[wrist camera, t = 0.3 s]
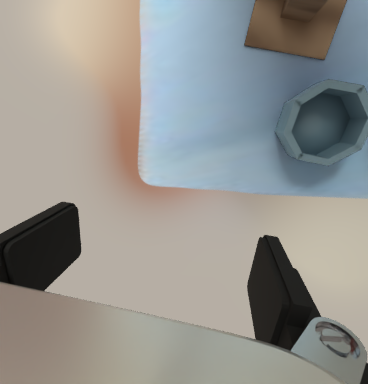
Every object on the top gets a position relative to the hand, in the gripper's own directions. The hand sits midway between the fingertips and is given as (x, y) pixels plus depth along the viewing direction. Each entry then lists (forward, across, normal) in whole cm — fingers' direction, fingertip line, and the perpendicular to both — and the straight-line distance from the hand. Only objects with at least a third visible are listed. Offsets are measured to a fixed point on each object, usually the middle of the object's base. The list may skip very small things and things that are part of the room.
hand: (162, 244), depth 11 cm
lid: (+31, -11, -23) cm, 39 cm away
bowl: (+30, -17, -7) cm, 35 cm away
